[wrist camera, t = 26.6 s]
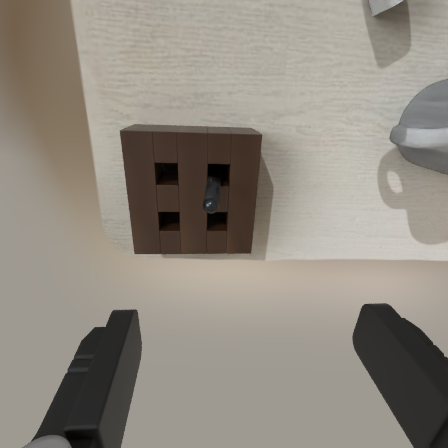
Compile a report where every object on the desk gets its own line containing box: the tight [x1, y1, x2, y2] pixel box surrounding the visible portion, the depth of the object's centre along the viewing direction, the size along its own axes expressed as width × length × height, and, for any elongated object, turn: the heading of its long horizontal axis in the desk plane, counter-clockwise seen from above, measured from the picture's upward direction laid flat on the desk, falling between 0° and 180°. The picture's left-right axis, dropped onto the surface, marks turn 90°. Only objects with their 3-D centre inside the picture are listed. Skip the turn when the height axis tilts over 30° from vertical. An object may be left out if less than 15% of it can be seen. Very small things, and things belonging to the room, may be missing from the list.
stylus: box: [203, 164, 222, 214], centre depth 28 cm, size 1×1×13 cm
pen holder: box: [120, 124, 262, 254], centre depth 32 cm, size 14×14×6 cm
